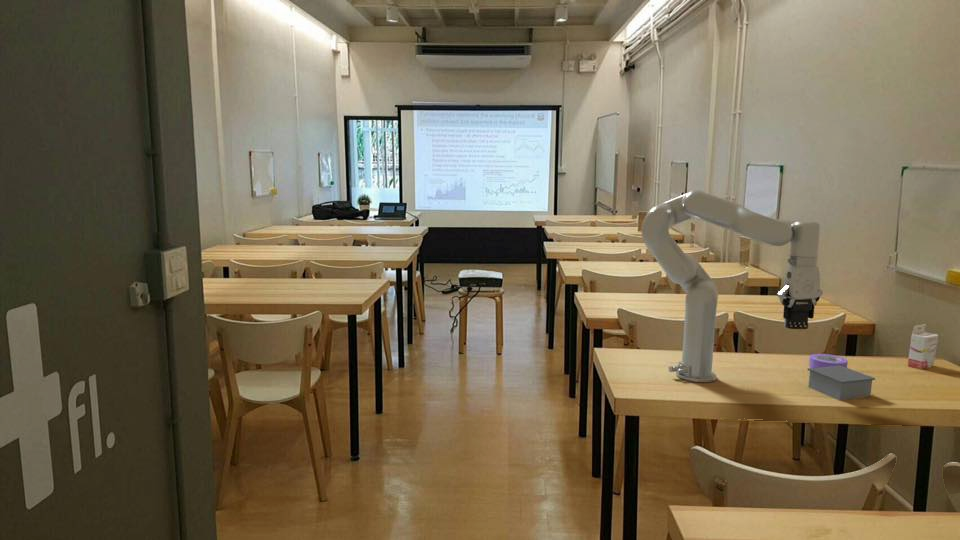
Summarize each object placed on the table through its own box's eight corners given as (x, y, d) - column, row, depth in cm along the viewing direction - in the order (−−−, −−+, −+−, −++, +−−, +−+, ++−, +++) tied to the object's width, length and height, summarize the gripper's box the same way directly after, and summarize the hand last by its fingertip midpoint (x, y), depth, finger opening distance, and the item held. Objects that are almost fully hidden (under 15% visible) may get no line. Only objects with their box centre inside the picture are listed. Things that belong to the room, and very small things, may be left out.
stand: (839, 401, 192) (841, 381, 191) (805, 386, 205) (807, 368, 204) (872, 397, 196) (875, 378, 195) (837, 383, 208) (839, 365, 207)
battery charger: (788, 330, 197) (791, 293, 195) (782, 327, 201) (785, 291, 199) (811, 330, 197) (814, 294, 195) (805, 327, 201) (808, 291, 199)
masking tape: (802, 363, 229) (803, 353, 229) (834, 363, 230) (835, 353, 229) (820, 374, 218) (821, 363, 217) (854, 374, 218) (855, 363, 218)
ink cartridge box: (922, 370, 224) (927, 329, 221) (906, 366, 228) (912, 325, 225) (934, 366, 228) (940, 326, 225) (919, 362, 232) (924, 323, 230)
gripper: (788, 264, 189) (784, 323, 192) (835, 262, 194) (830, 319, 197) (770, 261, 196) (766, 317, 199) (816, 258, 202) (811, 313, 204)
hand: (798, 317), depth 198 cm, fingers closed on battery charger, 7 cm apart
